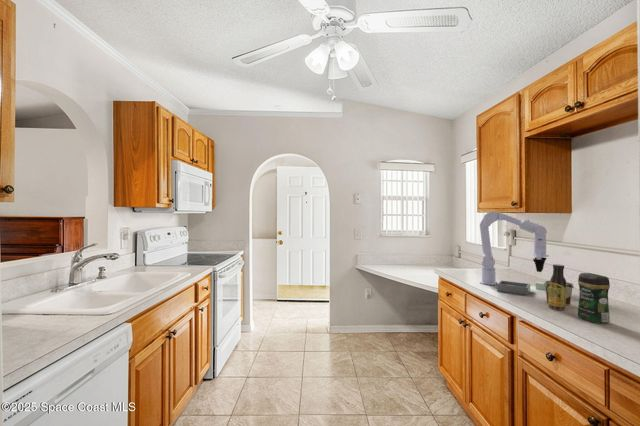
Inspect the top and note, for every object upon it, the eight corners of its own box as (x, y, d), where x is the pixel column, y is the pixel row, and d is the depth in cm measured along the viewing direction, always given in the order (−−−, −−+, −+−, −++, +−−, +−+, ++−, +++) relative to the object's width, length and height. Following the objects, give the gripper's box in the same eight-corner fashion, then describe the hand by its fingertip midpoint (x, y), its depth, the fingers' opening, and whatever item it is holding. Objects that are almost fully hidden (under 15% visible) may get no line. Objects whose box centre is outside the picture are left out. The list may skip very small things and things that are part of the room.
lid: (530, 287, 191) (530, 279, 191) (561, 290, 182) (561, 283, 182) (527, 291, 181) (527, 283, 181) (560, 295, 171) (560, 287, 171)
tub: (501, 287, 186) (501, 280, 186) (530, 291, 178) (530, 283, 178) (497, 291, 177) (497, 284, 177) (527, 295, 168) (527, 287, 168)
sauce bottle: (544, 307, 146) (545, 263, 147) (554, 306, 149) (554, 263, 149) (560, 311, 140) (560, 266, 140) (569, 310, 143) (569, 265, 143)
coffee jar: (573, 316, 134) (573, 271, 134) (591, 316, 134) (591, 271, 134) (595, 324, 124) (595, 276, 124) (614, 324, 125) (614, 276, 125)
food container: (565, 301, 157) (565, 280, 157) (573, 305, 151) (573, 283, 151) (538, 300, 158) (538, 280, 158) (545, 304, 152) (545, 282, 152)
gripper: (547, 248, 175) (547, 273, 175) (549, 246, 186) (549, 270, 186) (532, 247, 179) (532, 272, 179) (534, 245, 190) (534, 268, 190)
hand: (539, 270), depth 183 cm, fingers open, 7 cm apart
